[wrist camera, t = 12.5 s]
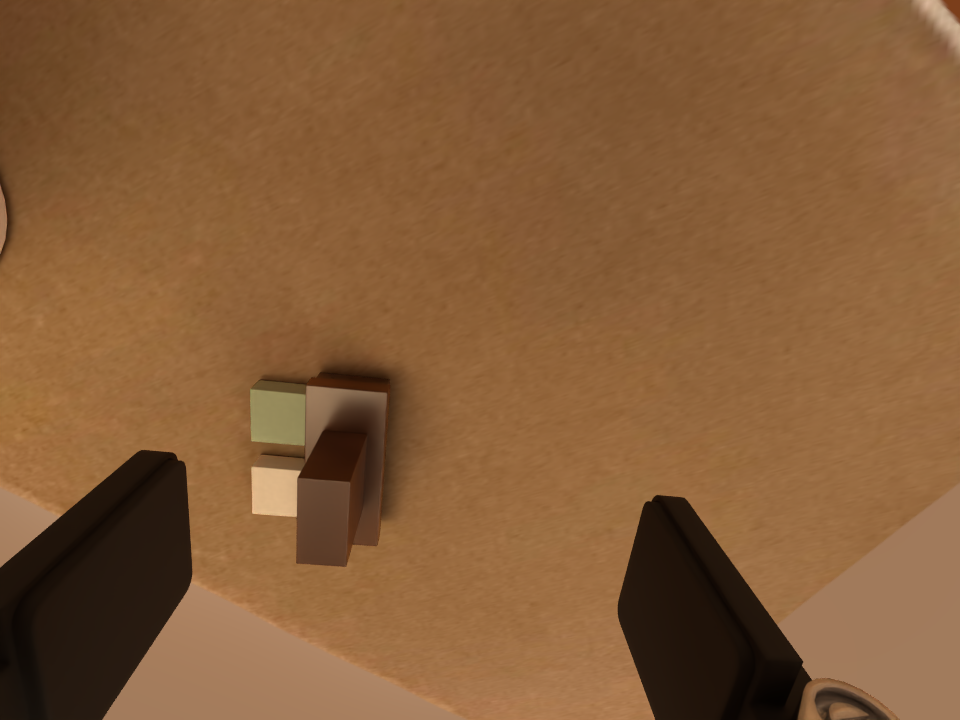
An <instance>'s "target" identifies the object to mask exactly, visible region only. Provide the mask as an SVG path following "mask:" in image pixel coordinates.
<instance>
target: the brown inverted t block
mask: <svg viewBox="0 0 960 720" xmlns="http://www.w3.org/2000/svg"><path fill="white" fill-rule="evenodd" d="M389 400H390V379H381V378H371V377H361V376H350V375H340V374H330V373H319V375H318V376H317V377H316V378H315V377H312V378H311V379H310V380H309V381H308V383H307V384H306V398H305V464H304V467H303V468H302V470H301V472H300V474H299V476H298V478H297V556H296V563H298V564H312V565H327V566H342V567H346V566H347V562H348V559H349V555H350V552H351V548H352V545H367V546H377V545H378V541H379V536H380V527H381V513H382V499H383V485H384V470H385V456H386V442H387V428H388V414H389Z"/></svg>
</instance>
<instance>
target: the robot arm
mask: <svg viewBox="0 0 960 720" xmlns="http://www.w3.org/2000/svg"><path fill="white" fill-rule="evenodd" d="M6 229H7V213H6V204H5V199H4V195H3V192H2V189H1V185H0V254H1V251H2V248H3V245H4V242H5V239H6ZM191 579H192V557H191V541H190V525H189V509H188V493H187V477H186V466H185V463H184V462H183V461H178V459H177V456H176V454H174V453H172V452H160V451H149V450H141V451H139V452H137V453H136V454H135V455H133V456H132V457H131V458H130V459H129V460H128V461H126V462H125V463H124V464H123V465H122V466H120V467H119V468H118V469H117V470H116V471H114V472H113V473H112V474H111V475H110V476H109V477H107V478H106V479H105V480H104V481H103V482H101V483H100V484H99V485H98V486H97V487H95V488H94V489H93V490H92V491H91V492H90V493H88V494H87V495H86V496H85V497H84V498H82V499H81V500H80V501H79V502H78V503H76V504H75V505H74V506H73V507H72V508H70V509H69V510H68V511H67V512H66V513H65V514H63V515H62V516H61V517H60V518H59V519H57V520H56V521H55V522H54V523H53V524H52V525H50V526H49V527H48V528H47V529H46V530H45V531H43V532H42V533H41V534H40V535H38V536H37V537H36V538H35V539H34V540H32V541H31V542H30V543H29V544H28V545H27V546H25V547H24V548H23V549H22V550H21V551H19V552H18V553H17V554H16V555H15V556H13V557H12V558H11V559H10V560H9V561H7V562H6V563H5V564H4V565H3V566H2V567H1V568H0V720H102V719H103V717H104V716H105V714H106V713H107V711H108V710H109V708H110V707H111V705H112V704H113V702H114V701H115V699H116V698H117V696H118V695H119V693H120V692H121V690H122V689H123V687H124V686H125V684H126V683H127V681H128V680H129V678H130V677H131V675H132V674H133V672H134V671H135V669H136V668H137V666H138V665H139V663H140V662H141V660H142V659H143V657H144V655H145V654H146V653H147V651H148V650H149V648H150V647H151V645H152V644H153V642H154V640H155V639H156V637H157V636H158V634H159V633H160V631H161V630H162V628H163V627H164V625H165V624H166V622H167V621H168V619H169V618H170V616H171V615H172V613H173V612H174V610H175V609H176V607H177V606H178V604H179V603H180V601H181V600H182V598H183V596H184V595H185V593H186V592H187V590H188V588H189V586H190V583H191ZM618 618H619V622H620V625H621V627H622V630H623V633H624V635H625V638H626V641H627V644H628V646H629V649H630V652H631V654H632V657H633V660H634V663H635V665H636V668H637V671H638V674H639V676H640V679H641V682H642V684H643V687H644V690H645V693H646V695H647V698H648V701H649V703H650V706H651V709H652V712H653V714H654V717H655V720H900V719H899V718H898V717H897V716H896V715H895V714H894V713H893V712H892V711H890V710H889V709H888V708H887V707H886V706H885V705H883V704H882V703H881V702H880V701H879V700H877V699H875V698H874V697H872V696H871V695H869V694H868V693H866V692H864V691H863V690H861V689H859V688H857V687H854V686H852V685H850V684H848V683H845V682H842V681H838V680H834V679H830V678H822V679H821V678H820V679H815V680H813V681H812V679H811V678H810V676H809V675H808V674H807V672H806V671H805V669H804V668H803V667H802V663H803V661H802V659H801V658H800V657H799V655H798V654H797V652H796V651H795V650H794V648H793V647H792V645H791V644H790V643H789V641H788V640H787V639H786V637H785V636H784V634H783V633H782V632H781V630H780V629H779V627H778V626H777V625H776V623H775V622H774V620H773V619H772V618H771V616H770V615H769V613H768V612H767V611H766V609H765V608H764V607H763V605H762V604H761V602H760V601H759V600H758V598H757V597H756V595H755V594H754V593H753V591H752V590H751V589H750V587H749V586H748V584H747V583H746V582H745V580H744V579H743V577H742V576H741V575H740V573H739V572H738V570H737V569H736V568H735V566H734V565H733V564H732V562H731V561H730V559H729V558H728V557H727V555H726V554H725V552H724V551H723V550H722V548H721V547H720V546H719V544H718V543H717V541H716V540H715V539H714V537H713V536H712V534H711V533H710V532H709V530H708V529H707V527H706V526H705V525H704V523H703V522H702V521H701V519H700V518H699V516H698V515H697V514H696V512H695V511H694V509H693V508H692V507H691V505H690V504H689V503H688V501H687V500H686V499H685V498H682V497H673V496H661V495H657V496H655V497H654V498H653V499H652V502H650V501H647V502H646V503H645V504H644V506H643V510H642V514H641V517H640V521H639V525H638V529H637V533H636V536H635V540H634V544H633V548H632V552H631V555H630V559H629V563H628V567H627V571H626V574H625V578H624V582H623V586H622V590H621V593H620V597H619V601H618Z"/></svg>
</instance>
